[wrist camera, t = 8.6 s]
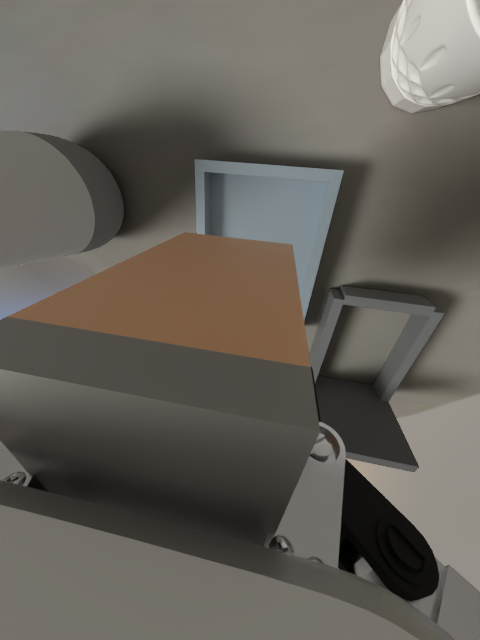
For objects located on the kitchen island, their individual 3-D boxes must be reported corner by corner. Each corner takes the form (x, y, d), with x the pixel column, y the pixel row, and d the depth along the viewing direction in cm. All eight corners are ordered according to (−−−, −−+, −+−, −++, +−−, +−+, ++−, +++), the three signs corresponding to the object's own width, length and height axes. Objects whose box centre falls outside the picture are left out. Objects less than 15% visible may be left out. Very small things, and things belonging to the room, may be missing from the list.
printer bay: (432, 297, 23) (519, 363, 14) (377, 391, 30) (414, 472, 22) (331, 284, 24) (356, 338, 15) (302, 378, 31) (308, 450, 23)
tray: (337, 172, 19) (344, 170, 17) (298, 326, 27) (299, 338, 25) (204, 161, 20) (194, 159, 18) (205, 312, 28) (199, 322, 26)
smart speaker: (115, 134, 20) (-124, 64, 8) (145, 240, 25) (19, 291, 13) (30, 148, 22) (-263, 108, 10) (74, 245, 27) (-94, 293, 15)
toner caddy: (292, 244, 10) (320, 431, 2) (265, 385, 15) (246, 598, 7) (184, 232, 11) (-73, 354, 3) (192, 372, 15) (101, 558, 8)
